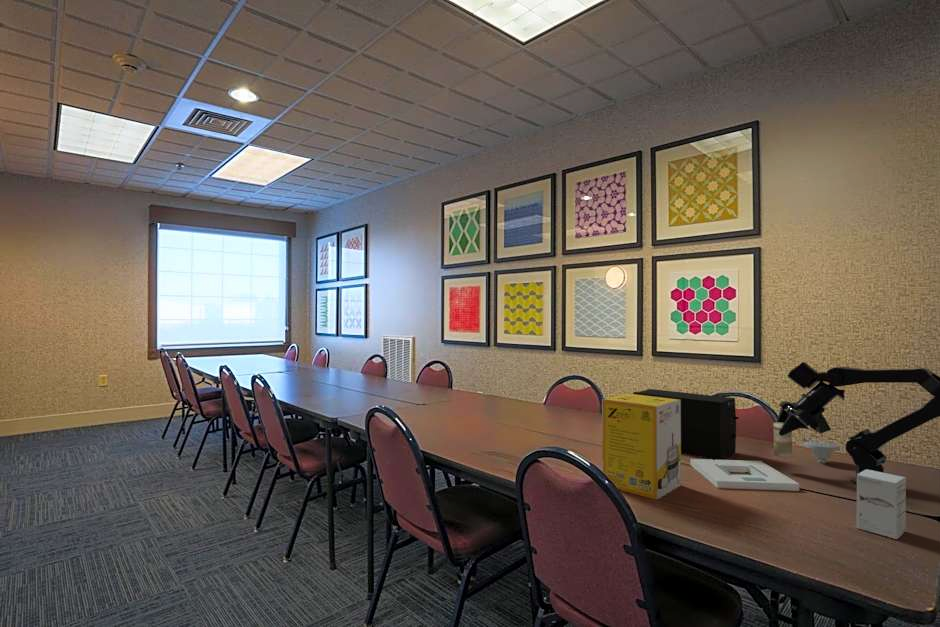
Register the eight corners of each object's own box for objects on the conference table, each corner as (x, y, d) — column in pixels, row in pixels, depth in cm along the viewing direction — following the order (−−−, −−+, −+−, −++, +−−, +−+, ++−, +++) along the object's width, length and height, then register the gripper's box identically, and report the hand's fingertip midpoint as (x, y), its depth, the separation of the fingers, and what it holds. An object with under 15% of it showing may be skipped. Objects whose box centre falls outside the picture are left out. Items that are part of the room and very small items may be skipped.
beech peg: (795, 457, 149) (794, 425, 149) (779, 457, 150) (778, 425, 150) (787, 453, 154) (786, 422, 154) (771, 453, 154) (770, 422, 155)
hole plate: (799, 490, 135) (799, 483, 135) (717, 487, 137) (717, 480, 137) (760, 467, 156) (760, 460, 157) (690, 464, 159) (690, 458, 159)
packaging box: (628, 472, 151) (628, 393, 151) (681, 485, 139) (680, 399, 139) (602, 485, 139) (601, 399, 140) (656, 500, 128) (656, 406, 128)
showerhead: (803, 435, 169) (838, 440, 163) (803, 456, 169) (839, 461, 163) (801, 441, 161) (839, 445, 155) (802, 462, 161) (839, 468, 155)
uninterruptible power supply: (651, 437, 197) (651, 388, 197) (741, 453, 173) (740, 398, 173) (631, 444, 186) (631, 392, 186) (725, 462, 161) (724, 403, 162)
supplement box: (855, 528, 110) (854, 473, 110) (866, 521, 114) (865, 468, 115) (897, 540, 104) (896, 482, 104) (907, 532, 108) (906, 476, 109)
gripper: (853, 424, 138) (810, 460, 142) (826, 412, 156) (788, 444, 159) (820, 396, 141) (778, 432, 144) (797, 387, 159) (760, 419, 162)
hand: (777, 432), depth 152 cm, fingers closed on beech peg, 5 cm apart
